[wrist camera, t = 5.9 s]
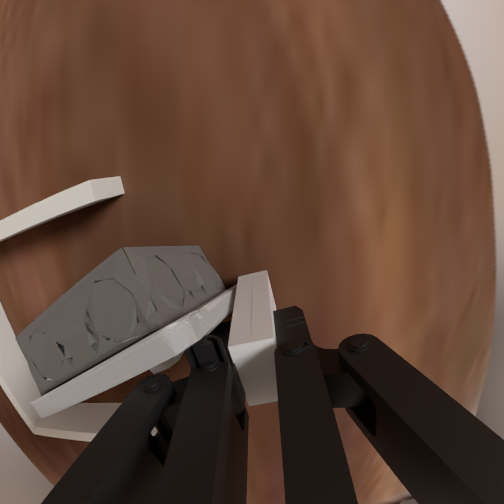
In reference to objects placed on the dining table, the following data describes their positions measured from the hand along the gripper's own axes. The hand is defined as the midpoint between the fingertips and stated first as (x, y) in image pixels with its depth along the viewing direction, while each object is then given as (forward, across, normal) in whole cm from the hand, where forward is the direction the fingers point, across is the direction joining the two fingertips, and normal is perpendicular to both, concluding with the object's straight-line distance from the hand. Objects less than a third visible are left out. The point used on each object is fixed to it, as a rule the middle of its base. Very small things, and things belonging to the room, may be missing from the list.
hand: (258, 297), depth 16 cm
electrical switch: (+2, -6, +1) cm, 6 cm away
